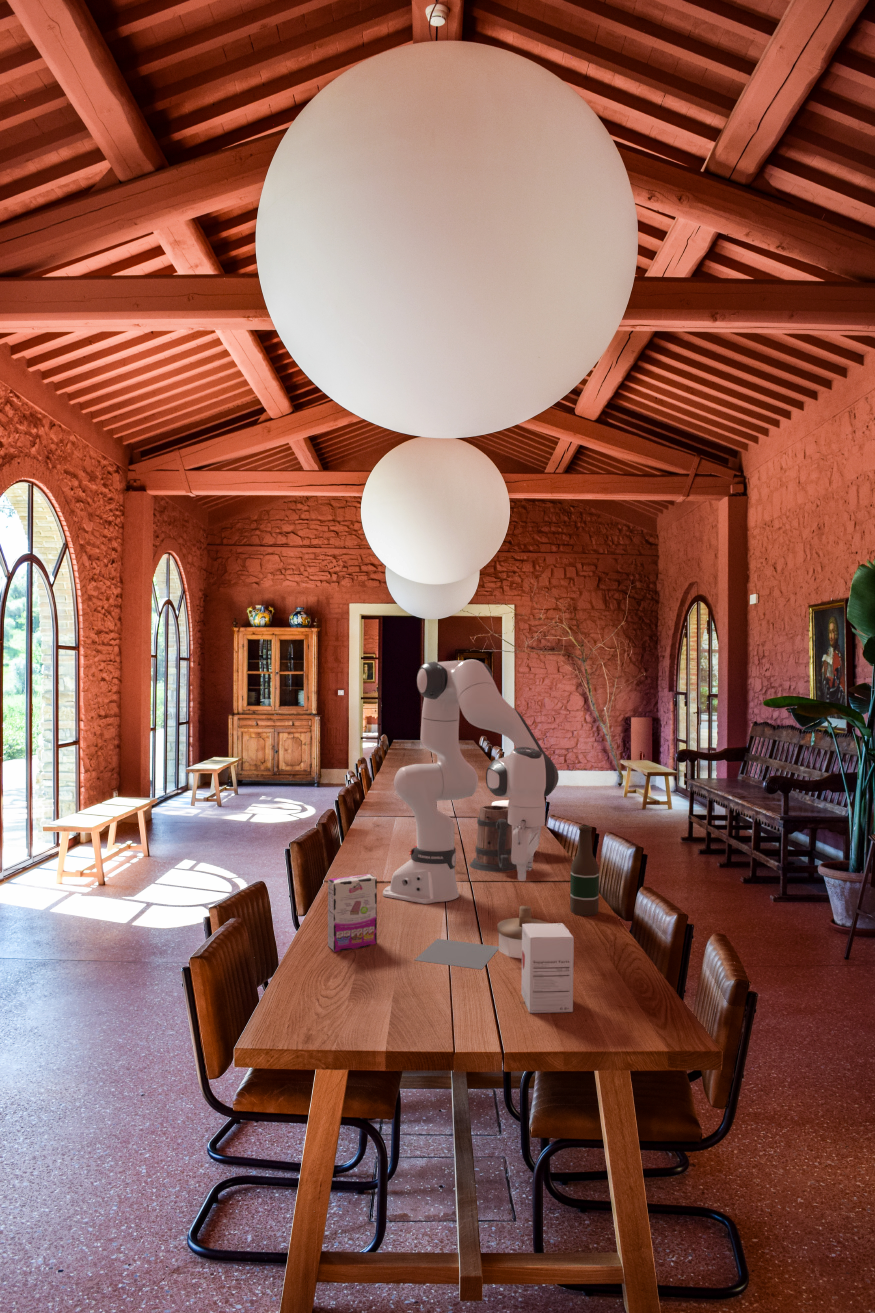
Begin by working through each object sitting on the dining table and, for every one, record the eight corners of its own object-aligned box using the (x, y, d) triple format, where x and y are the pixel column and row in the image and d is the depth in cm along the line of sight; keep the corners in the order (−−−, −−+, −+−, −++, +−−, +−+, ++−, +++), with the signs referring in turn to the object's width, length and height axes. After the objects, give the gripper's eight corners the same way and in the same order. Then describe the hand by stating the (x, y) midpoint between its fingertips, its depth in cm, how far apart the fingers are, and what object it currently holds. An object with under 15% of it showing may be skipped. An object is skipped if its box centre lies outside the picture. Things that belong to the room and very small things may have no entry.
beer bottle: (598, 917, 225) (599, 829, 225) (569, 915, 226) (570, 827, 226) (598, 909, 232) (599, 824, 233) (570, 907, 234) (571, 822, 234)
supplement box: (520, 995, 170) (521, 922, 170) (562, 995, 171) (563, 922, 171) (528, 1014, 161) (529, 937, 161) (573, 1013, 162) (574, 936, 162)
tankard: (464, 860, 289) (465, 803, 289) (511, 859, 292) (512, 802, 292) (480, 877, 266) (480, 815, 266) (530, 876, 269) (531, 814, 269)
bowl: (494, 957, 192) (494, 935, 192) (507, 942, 203) (507, 921, 203) (543, 963, 189) (543, 941, 189) (553, 947, 199) (553, 927, 200)
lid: (493, 937, 191) (493, 913, 191) (502, 920, 204) (502, 898, 204) (549, 942, 188) (549, 917, 188) (555, 925, 201) (555, 902, 201)
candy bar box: (369, 940, 204) (370, 873, 204) (377, 946, 199) (378, 877, 199) (326, 946, 198) (327, 877, 199) (333, 953, 194) (334, 882, 194)
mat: (414, 962, 188) (414, 960, 188) (437, 941, 203) (437, 938, 203) (481, 972, 183) (481, 969, 183) (500, 949, 198) (500, 946, 198)
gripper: (533, 826, 186) (531, 887, 186) (545, 810, 205) (544, 865, 205) (505, 824, 187) (504, 885, 187) (520, 808, 207) (519, 863, 207)
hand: (525, 874), depth 196 cm, fingers open, 8 cm apart
